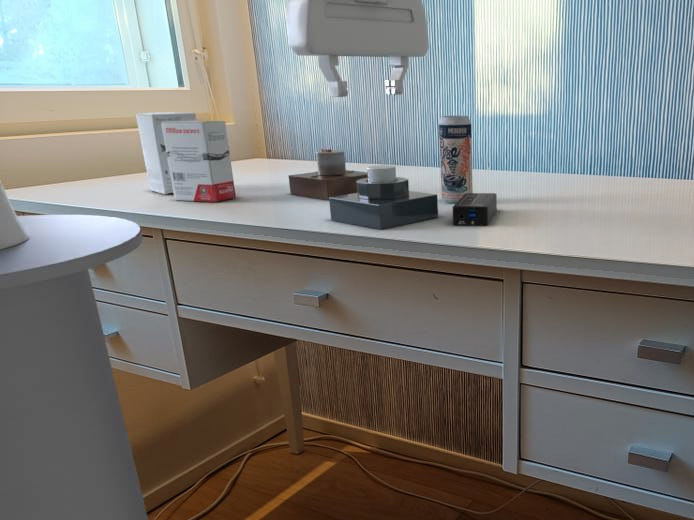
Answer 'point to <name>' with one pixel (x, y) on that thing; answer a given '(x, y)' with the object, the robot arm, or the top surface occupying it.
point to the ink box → (199, 160)
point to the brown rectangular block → (325, 184)
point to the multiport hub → (475, 209)
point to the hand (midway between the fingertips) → (367, 95)
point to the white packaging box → (158, 147)
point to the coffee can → (455, 157)
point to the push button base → (383, 205)
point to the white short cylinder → (381, 173)
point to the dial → (331, 162)
